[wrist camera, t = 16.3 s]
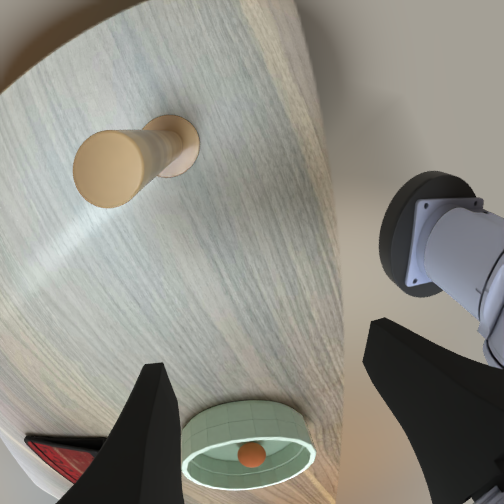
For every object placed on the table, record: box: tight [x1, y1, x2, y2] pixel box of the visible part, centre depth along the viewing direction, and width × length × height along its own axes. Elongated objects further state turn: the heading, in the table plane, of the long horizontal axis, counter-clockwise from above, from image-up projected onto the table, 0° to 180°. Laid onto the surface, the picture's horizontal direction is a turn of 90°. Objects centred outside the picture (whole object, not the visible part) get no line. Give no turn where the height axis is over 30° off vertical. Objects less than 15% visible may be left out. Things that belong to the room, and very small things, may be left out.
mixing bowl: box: [181, 400, 316, 490], centre depth 25 cm, size 13×13×4 cm
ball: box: [237, 442, 266, 468], centre depth 26 cm, size 3×3×3 cm
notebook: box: [24, 436, 106, 484], centre depth 29 cm, size 16×2×21 cm
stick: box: [73, 115, 200, 208], centre depth 11 cm, size 4×4×11 cm
